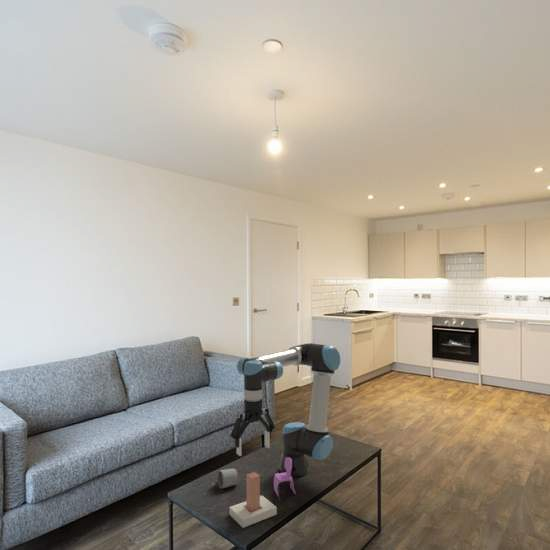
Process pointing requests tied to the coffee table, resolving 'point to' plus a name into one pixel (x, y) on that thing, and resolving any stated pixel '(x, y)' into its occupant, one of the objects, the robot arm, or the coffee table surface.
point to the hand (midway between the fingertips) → (253, 450)
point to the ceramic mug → (227, 478)
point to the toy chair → (284, 476)
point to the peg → (252, 492)
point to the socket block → (246, 517)
